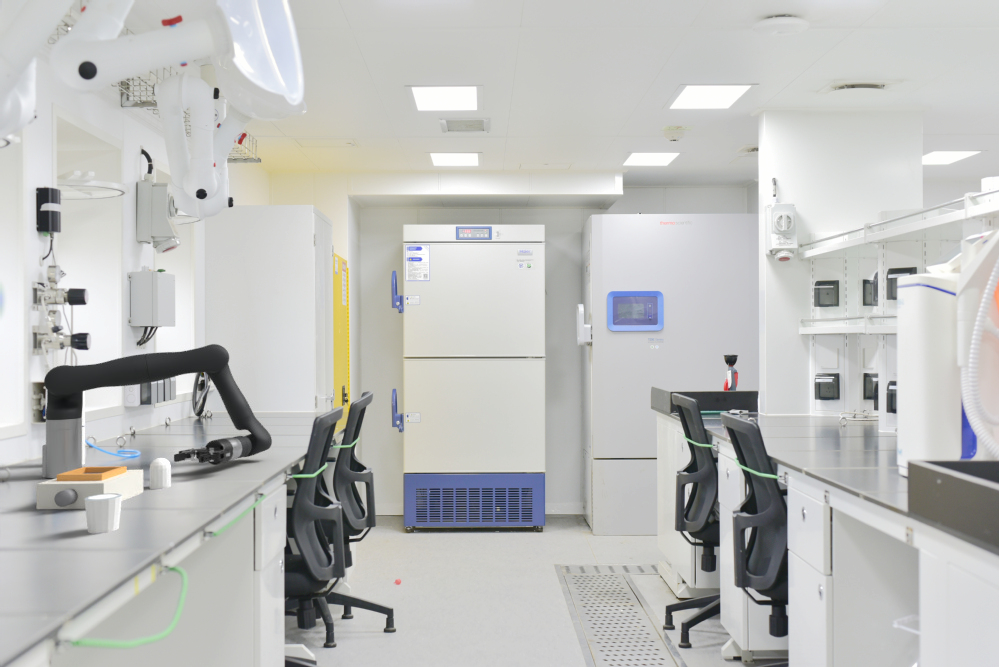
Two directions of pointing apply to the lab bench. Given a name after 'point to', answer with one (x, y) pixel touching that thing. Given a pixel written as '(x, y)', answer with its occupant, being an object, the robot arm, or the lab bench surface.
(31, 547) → the lab bench surface
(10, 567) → the lab bench surface
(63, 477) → the plate
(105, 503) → the white tapered cup
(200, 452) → the robot arm
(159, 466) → the capsule
